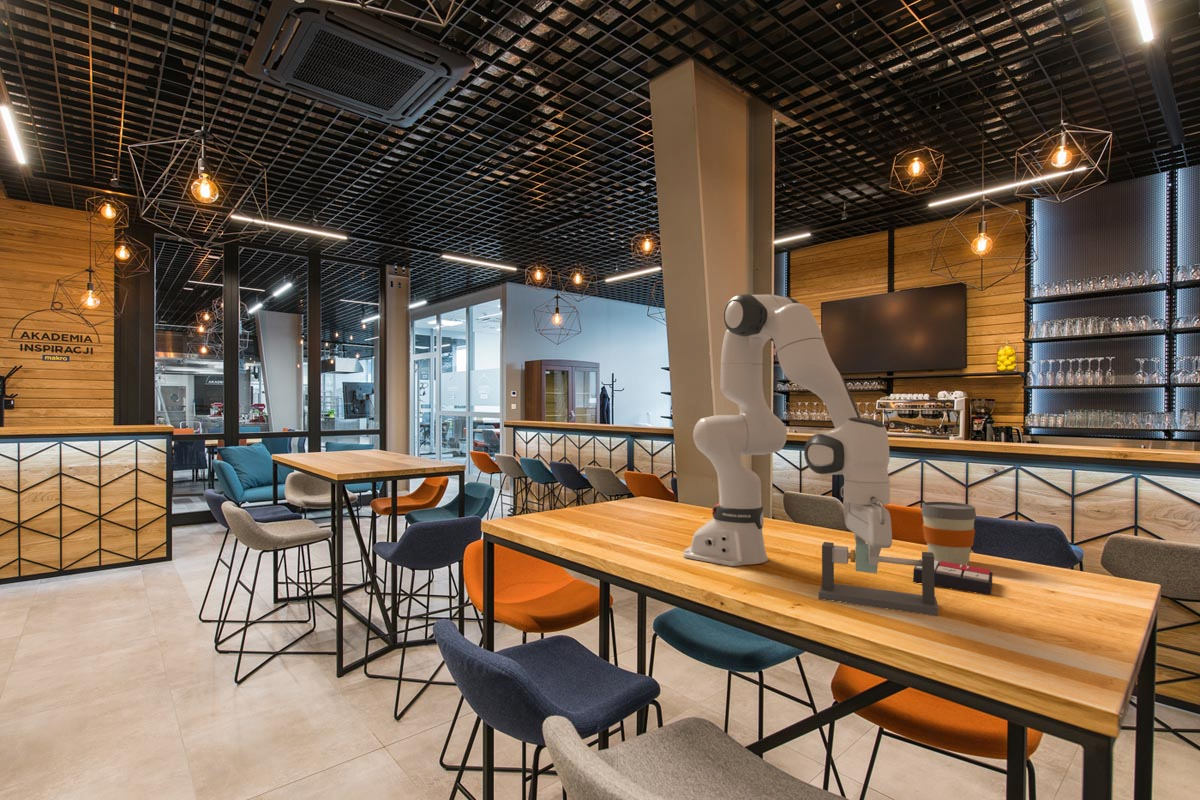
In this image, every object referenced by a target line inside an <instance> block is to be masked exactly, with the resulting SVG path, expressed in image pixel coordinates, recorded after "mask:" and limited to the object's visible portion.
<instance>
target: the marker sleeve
mask: <svg viewBox="0 0 1200 800" xmlns="http://www.w3.org/2000/svg"><path fill="white" fill-rule="evenodd" d="M854 550H855V555H856V559H855V572H861V573H869V574H878V569H879V568H878V565H879V564H878V565H871V564H869V563H868V562H867V554H868V552H869V548H868V543H867V542H866V543H859V542H857V544H856V543H855V549H854Z"/></svg>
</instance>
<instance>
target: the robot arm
mask: <svg viewBox="0 0 1200 800" xmlns="http://www.w3.org/2000/svg"><path fill="white" fill-rule="evenodd" d="M723 321H724V325H725V327H726V330H725V332H724V335H723V341H722V347H721V352H720V353H721V354H720V355H721V357H720V387H719V388H720V391H721V393H722V395H723V396H724V397H725V398H726V399H727V400H729V401H731V402H732V403H735V404H736V405H737V406H738V410H739V414H719V415H718V414H716V415H712V416H707V417H702V418H699V420H698V421H697V422H696V424H695V425H694V428H693V433H692V436H693V437H692V438H693V442H694V445H695V447H696V448H697V450H698V451H700V453H701V454H703V455H704V456H705V457H706V458H707V459H708V460H709V461H710V462H711V464H712V466H713V467H714V469H715V472H716V475H717V479H718V490H719V503H717V504H715V505H714V507H713V508H712V509H711V514H712V517H713V518H712V519H710V520H708V521H707V522H706V523H705V524H703V525H702V526H700V527H699V528H698V529H696V531H695V532H694V534H693V536H692V538H691V539H692V540H691V545H690V546H687V547H686V548H685V549H684V550H683V552H682V553H683V554H682V555H683V557H684V558H687V559H691V560H696V561H702V562H707V563H708V562H709V563H712V564H718V565H724V566H729V567H739V566H744V565H745V566H746V565H758V564H764V563H765V562H768V560H769V558H768V555H767V551H766V547H765V542H764V535H763V528H764V527H763V526H764V508H763V506H762V481H761V479H760V476H759V475H758V474H757V473H756V472H754V471H753V470H751V469H749V468H747V467H745V466H744V464H743V463H742V457H741V456H755V455H756V456H760V455H762V456H764V455H768V454H773V453H777V452H780V451H782V449H783V448H784V446H785V444H786V442H787V438H788V433H787V427H786V426H785V424H784V423H783V421H782V420H781V419H780V418H779V417H778V416H777V415H775V414H774V413H773V411H772V410H771V408H770V407H769V405H768V403H767V400H766V398H765V394H764V385H763V383H764V382H763V366H764V365H763V363H764V362H763V350H764V346H765V344H766V343H767V342H768V341H769V340H770V341H771V342H773V343H774V348H775V352H776V357H777V359H778V362H779V367H780V368H781V371H782V373H783V374H784V376H785V377H786V379H787V380H789V382H792V383H793V384H795V385H797V386H799V387H801V388H804V389H806V390H808V391H810V392H811V393H813V394H815V395H816V396H817V397H818V398H819V399H821V401H822V402H823V403H824V405H825V406H826V409H827V411H828V413H829V416H830V419H831V421H832V424H833V426H834V428H831V429H829V430H826V431H823V432H819V433H816V434H813V435H811V436H810V437H809V438H808V440H807V441H806V443H805V444H804V451H803V454H804V455H803V456H804V460H805V462H806V465H807V466H808V468H809V469H810V470H811V471H812V472H814V473H816V474H818V475H824V476H833V475H836V476H838V475H843V485H842V487H841V488H840V496H841V498H843V503H842V504H843V517H844V523H845V526H846V528H847V529H848V530H849V531H851V532H852V533H853V535H854V542H855V545H856V544H857V542H859V543H868V548H869V552H868V554H867V562H868V563H869V564H871V565H879V563H880V562H879V556H880V554H881V550H882V549H890V548H891V547H892V544H893V532H892V519H891V513H890V511H889V509H887V508H886V507H884V506H887V505H890V504H891V493H890V492H891V489H890V487H891V483H890V476H889V473H888V468H889V463H890V443H889V442H890V441H889V435H888V430H887V428H886V426H885V424H884V423H882V422H881V421H880V420H876V419H872V418H868V417H867V418H865V417H861V415H860V413H859V411H858V408H857V405H856V403H855V401H854V398H853V396H852V393H851V391H850V389H849V387H848V384H847V383H846V381H845V378H844V377H843V375H842V374H841V373H840V371H839V370H838V368H837V367H836V365H835V363H834V362H833V360H832V358H831V356H830V354H829V351H828V348H827V346H826V342H825V340H824V336H823V333H822V331H821V327H820V326H819V324H818V322H817V320H816V317H815V316H814V314H813V312H812V310H811V309H810V308H809V307H808V306H807V305H806V304H803V303H801V302H800V301H798V300H796V299H795V298H793V297H789V296H780V295H776V294H771V293H770V294H769V293H767V294H766V293H765V294H750V293H744V294H737V295H735V296H733V297H731V298H730V299H729V300H728V301H727V303H726V305H725V308H724V313H723Z"/></svg>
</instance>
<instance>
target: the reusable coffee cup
mask: <svg viewBox="0 0 1200 800" xmlns="http://www.w3.org/2000/svg"><path fill="white" fill-rule="evenodd" d="M920 513H921V515H922V520H923V523H922V524H921V525H922V531H923V538H924V541H925V542H926V545H927V552H932V553H933V554H934V561H939V562H941V561H944V562H950V563H955V564H961V565H966V564H968V565H969V564H970V557H971V550H972V549H971V548H972V547H973V546H974V543H975V542H974V541H975V533H976V528H975V520H976V519H977V515H976V514H977V513H976V507H975V505H971V504H968V503H961V502H950V501H925V502H922V503H921V511H920Z"/></svg>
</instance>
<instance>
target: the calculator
mask: <svg viewBox="0 0 1200 800" xmlns="http://www.w3.org/2000/svg"><path fill="white" fill-rule="evenodd" d="M919 560H922V558H921V559H919ZM912 572H913V573H912V575H913V579H912V583H913V582H916V583H922V566H914V568H913V571H912ZM916 583H915V584H916ZM934 585H935V587H940V586H941V587H940V588H945V587H946V588H945V589H950V588H952V589H951V590H955V589H957V590H956V591H961V590H963V591H962V592H968V591H970V592H969V593H974V592H976V594H980V593H981V594H982V595H987V596H990V595H991V594H992V587H993V571H991V570H990V569H988V568H984V567H983V568H982V567H979V566H978V567H976V566H971V565H961V564H955V563H950V562H944V561H941V562H939V561H934Z"/></svg>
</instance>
